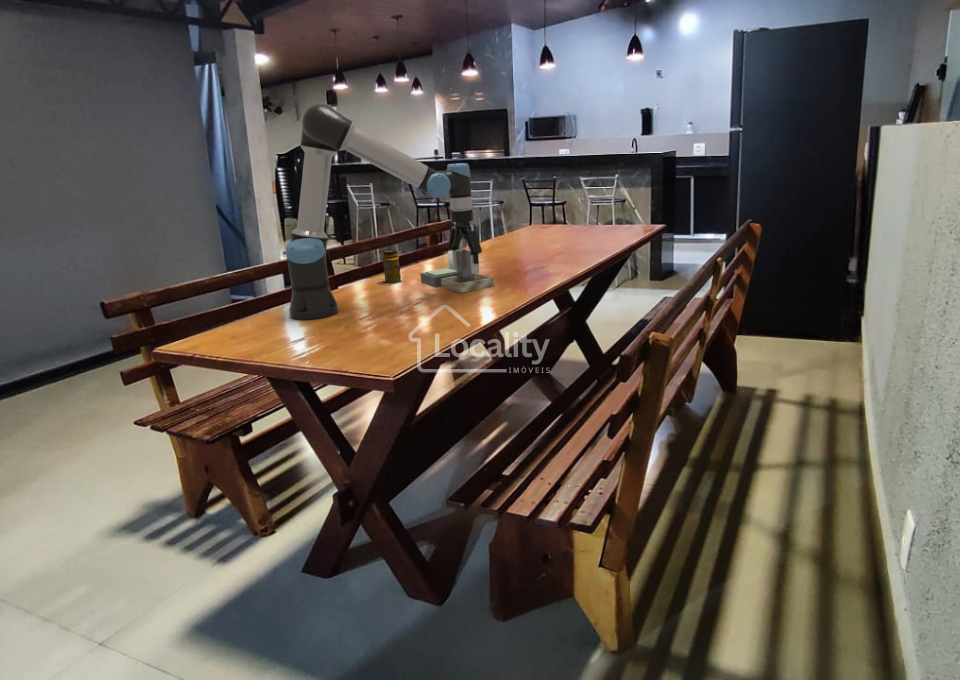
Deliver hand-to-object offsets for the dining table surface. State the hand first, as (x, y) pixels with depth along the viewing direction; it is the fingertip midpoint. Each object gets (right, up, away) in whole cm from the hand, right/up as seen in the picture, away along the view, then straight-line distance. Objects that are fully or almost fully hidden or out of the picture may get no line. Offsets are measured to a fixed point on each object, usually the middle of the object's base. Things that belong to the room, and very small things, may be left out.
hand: (466, 270), depth 237 cm
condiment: (-29, -3, +19) cm, 35 cm away
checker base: (-9, -3, +12) cm, 15 cm away
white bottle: (-3, +1, +25) cm, 25 cm away
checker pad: (-9, -1, +11) cm, 15 cm away
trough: (+1, -5, +2) cm, 6 cm away
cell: (0, -5, +1) cm, 5 cm away
